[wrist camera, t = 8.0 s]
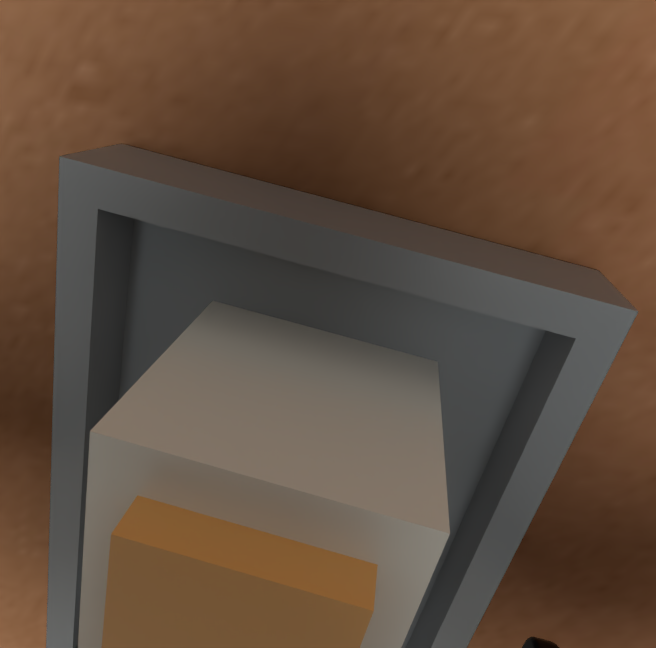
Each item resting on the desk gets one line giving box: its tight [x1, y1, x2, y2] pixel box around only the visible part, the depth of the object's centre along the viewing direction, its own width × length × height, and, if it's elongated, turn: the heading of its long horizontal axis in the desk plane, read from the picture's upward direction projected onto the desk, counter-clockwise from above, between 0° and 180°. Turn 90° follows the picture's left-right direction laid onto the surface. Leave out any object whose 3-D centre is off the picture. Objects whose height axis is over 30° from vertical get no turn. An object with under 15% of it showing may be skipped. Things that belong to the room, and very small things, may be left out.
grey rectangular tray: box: [46, 144, 638, 648], centre depth 11 cm, size 8×11×2 cm
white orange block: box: [78, 301, 450, 648], centre depth 9 cm, size 4×7×5 cm, turn 167°
